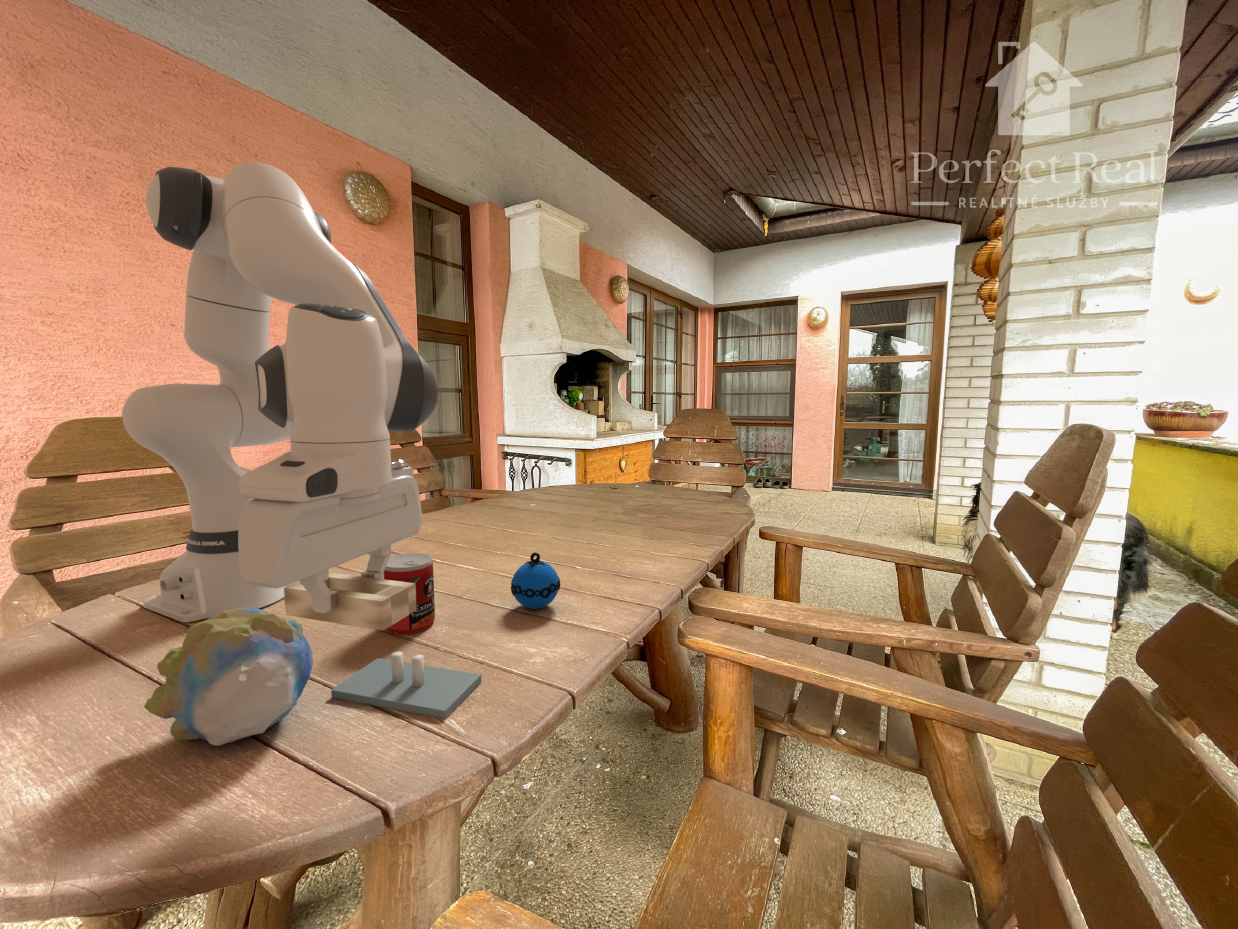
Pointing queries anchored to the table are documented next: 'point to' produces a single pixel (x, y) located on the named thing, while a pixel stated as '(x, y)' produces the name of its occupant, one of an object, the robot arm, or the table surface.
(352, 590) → the beige wooden rectangular frame
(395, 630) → the canned food
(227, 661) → the decorative rock
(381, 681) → the boss board
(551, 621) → the table surface
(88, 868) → the table surface
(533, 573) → the ornament
